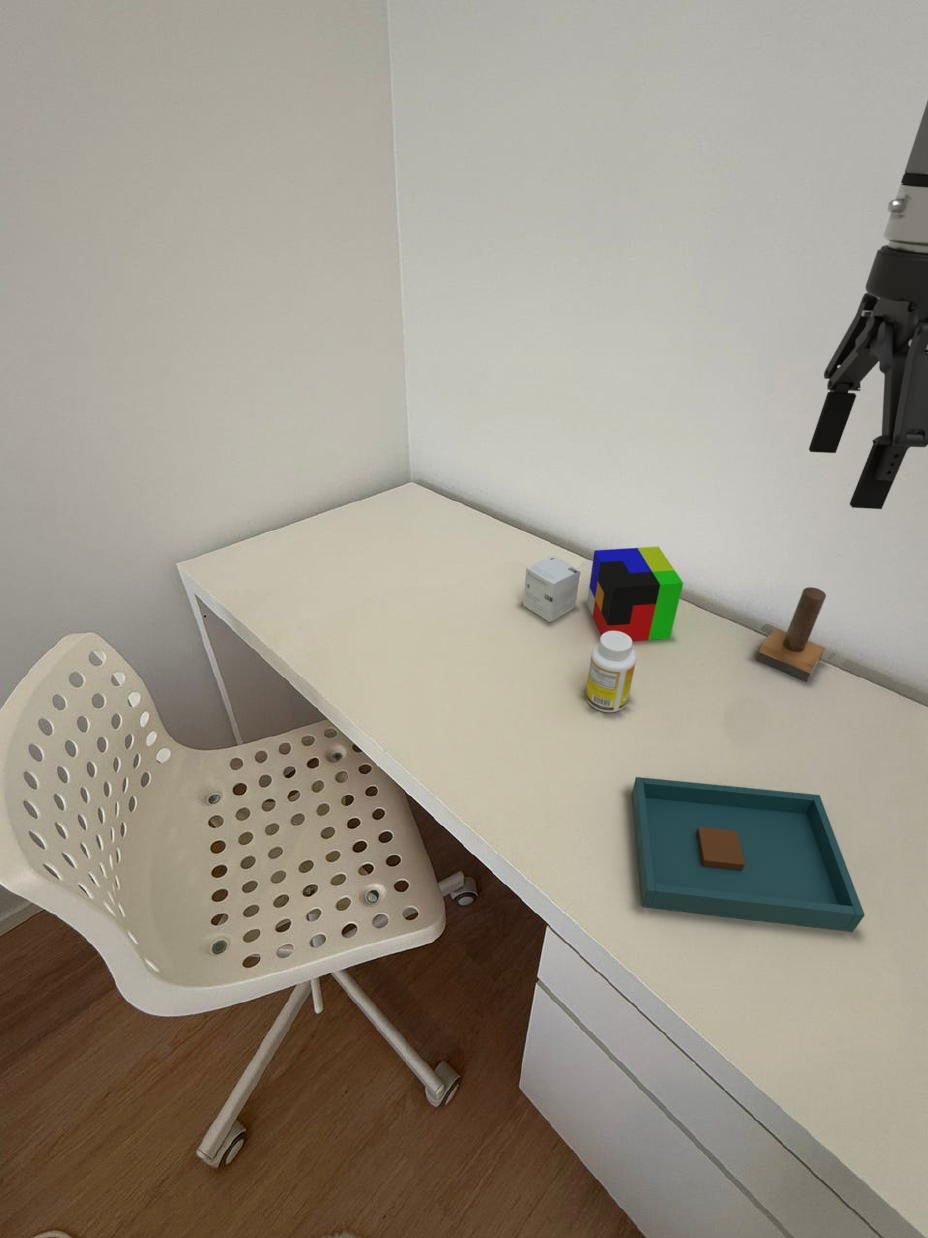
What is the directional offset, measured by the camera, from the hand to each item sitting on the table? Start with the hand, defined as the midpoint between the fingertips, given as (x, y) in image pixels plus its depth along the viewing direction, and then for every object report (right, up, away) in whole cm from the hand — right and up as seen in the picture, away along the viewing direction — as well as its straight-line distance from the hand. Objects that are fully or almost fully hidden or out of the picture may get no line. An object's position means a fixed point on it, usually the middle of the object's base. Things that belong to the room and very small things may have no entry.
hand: (841, 477), depth 68 cm
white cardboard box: (-26, -13, +35) cm, 46 cm away
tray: (-12, -40, 0) cm, 42 cm away
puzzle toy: (-15, -15, +32) cm, 38 cm away
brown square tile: (-13, -39, -1) cm, 41 cm away
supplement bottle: (-21, -26, +18) cm, 38 cm away
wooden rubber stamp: (+6, -21, +24) cm, 33 cm away
